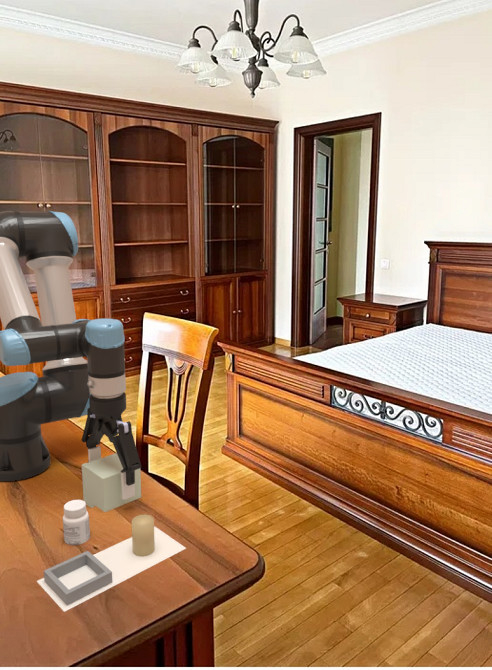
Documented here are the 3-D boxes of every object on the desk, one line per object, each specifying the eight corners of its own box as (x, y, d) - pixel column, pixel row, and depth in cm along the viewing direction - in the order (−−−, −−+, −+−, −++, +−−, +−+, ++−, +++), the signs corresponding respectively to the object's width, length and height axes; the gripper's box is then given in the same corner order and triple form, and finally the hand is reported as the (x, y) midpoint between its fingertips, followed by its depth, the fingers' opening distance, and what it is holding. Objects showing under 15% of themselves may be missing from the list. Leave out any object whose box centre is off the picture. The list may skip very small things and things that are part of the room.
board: (37, 588, 91) (33, 549, 90) (155, 533, 108) (154, 498, 106) (64, 620, 84) (61, 577, 83) (186, 555, 101) (185, 518, 99)
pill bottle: (81, 534, 107) (78, 495, 105) (95, 543, 104) (93, 503, 102) (59, 545, 104) (56, 505, 102) (73, 555, 101) (71, 514, 99)
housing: (83, 502, 119) (81, 464, 117) (119, 488, 125) (118, 452, 123) (104, 518, 113) (102, 478, 111) (141, 503, 119) (140, 465, 117)
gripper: (63, 382, 120) (68, 471, 124) (124, 413, 102) (127, 514, 107) (93, 376, 125) (97, 461, 130) (157, 404, 108) (159, 501, 112)
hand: (111, 485), depth 118 cm, fingers open, 13 cm apart
